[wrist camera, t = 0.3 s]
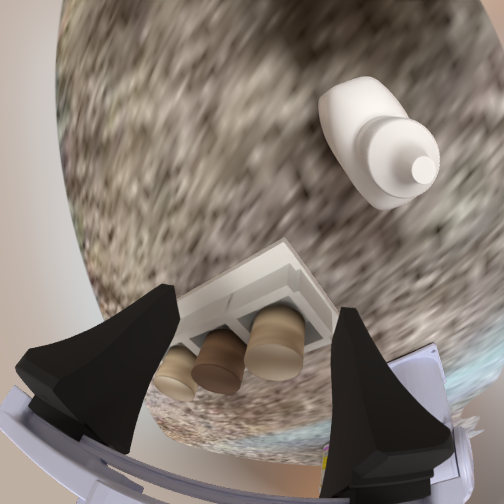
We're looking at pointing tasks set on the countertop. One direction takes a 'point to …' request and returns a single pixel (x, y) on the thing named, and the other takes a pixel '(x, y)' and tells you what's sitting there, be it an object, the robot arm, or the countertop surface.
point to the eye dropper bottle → (378, 142)
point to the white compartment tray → (256, 299)
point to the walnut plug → (220, 362)
